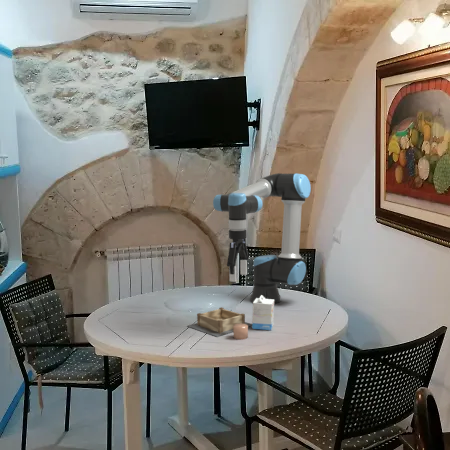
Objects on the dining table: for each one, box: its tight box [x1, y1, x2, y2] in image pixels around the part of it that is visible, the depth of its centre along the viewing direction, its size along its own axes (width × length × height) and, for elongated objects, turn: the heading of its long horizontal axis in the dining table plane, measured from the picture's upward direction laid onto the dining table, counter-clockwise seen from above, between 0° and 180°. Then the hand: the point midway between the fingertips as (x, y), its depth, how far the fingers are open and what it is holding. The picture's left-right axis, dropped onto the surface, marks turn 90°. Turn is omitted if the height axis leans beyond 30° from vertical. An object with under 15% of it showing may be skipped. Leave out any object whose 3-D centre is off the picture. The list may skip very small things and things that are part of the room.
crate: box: [186, 307, 252, 338], centre depth 267 cm, size 22×20×6 cm
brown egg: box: [232, 324, 249, 340], centre depth 252 cm, size 6×6×5 cm
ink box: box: [251, 295, 275, 331], centre depth 264 cm, size 9×8×13 cm
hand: (238, 278), depth 262 cm, fingers open, 13 cm apart
